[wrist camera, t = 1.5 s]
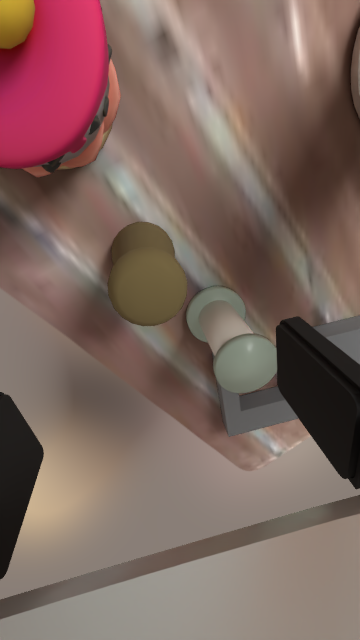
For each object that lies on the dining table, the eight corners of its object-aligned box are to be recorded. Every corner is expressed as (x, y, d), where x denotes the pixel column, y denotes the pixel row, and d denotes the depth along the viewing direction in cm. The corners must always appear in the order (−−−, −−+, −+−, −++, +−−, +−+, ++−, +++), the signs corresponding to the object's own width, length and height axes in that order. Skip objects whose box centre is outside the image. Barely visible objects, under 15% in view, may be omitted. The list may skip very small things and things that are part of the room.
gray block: (369, 313, 34) (386, 322, 31) (358, 386, 39) (371, 399, 37) (211, 352, 33) (217, 364, 30) (223, 422, 38) (228, 436, 36)
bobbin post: (239, 279, 29) (286, 322, 20) (244, 331, 32) (287, 387, 23) (181, 293, 29) (202, 343, 20) (191, 344, 32) (213, 406, 23)
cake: (90, -25, 18) (-33, -612, 5) (136, 159, 23) (139, 128, 10) (-71, 9, 18) (-702, -520, 4) (11, 188, 22) (-165, 199, 9)
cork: (178, 279, 28) (202, 331, 18) (118, 289, 28) (111, 347, 18) (170, 217, 25) (193, 239, 16) (104, 226, 25) (85, 255, 15)
